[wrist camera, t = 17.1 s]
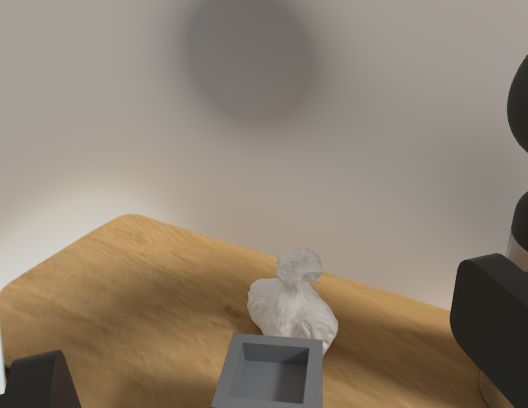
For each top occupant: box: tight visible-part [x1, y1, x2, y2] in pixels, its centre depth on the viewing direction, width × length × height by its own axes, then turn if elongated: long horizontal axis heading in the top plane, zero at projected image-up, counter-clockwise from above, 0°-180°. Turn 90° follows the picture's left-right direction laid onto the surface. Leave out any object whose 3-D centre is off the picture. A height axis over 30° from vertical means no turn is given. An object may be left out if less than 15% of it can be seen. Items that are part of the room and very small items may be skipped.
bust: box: [247, 248, 338, 356], centre depth 53 cm, size 12×8×11 cm
